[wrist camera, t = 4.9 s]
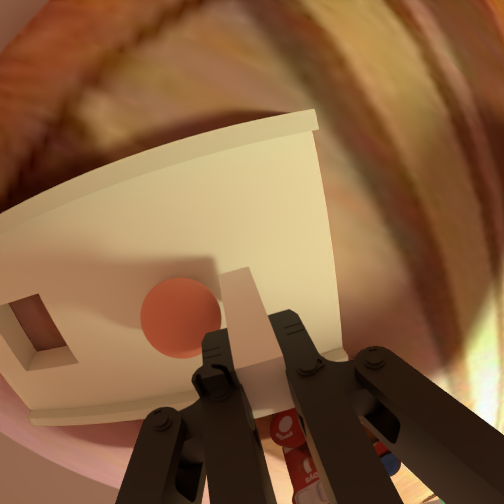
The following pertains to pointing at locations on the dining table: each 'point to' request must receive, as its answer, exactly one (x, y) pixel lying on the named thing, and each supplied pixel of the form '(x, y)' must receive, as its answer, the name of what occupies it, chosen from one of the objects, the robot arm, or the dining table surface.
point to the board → (162, 263)
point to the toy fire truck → (301, 462)
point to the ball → (179, 317)
